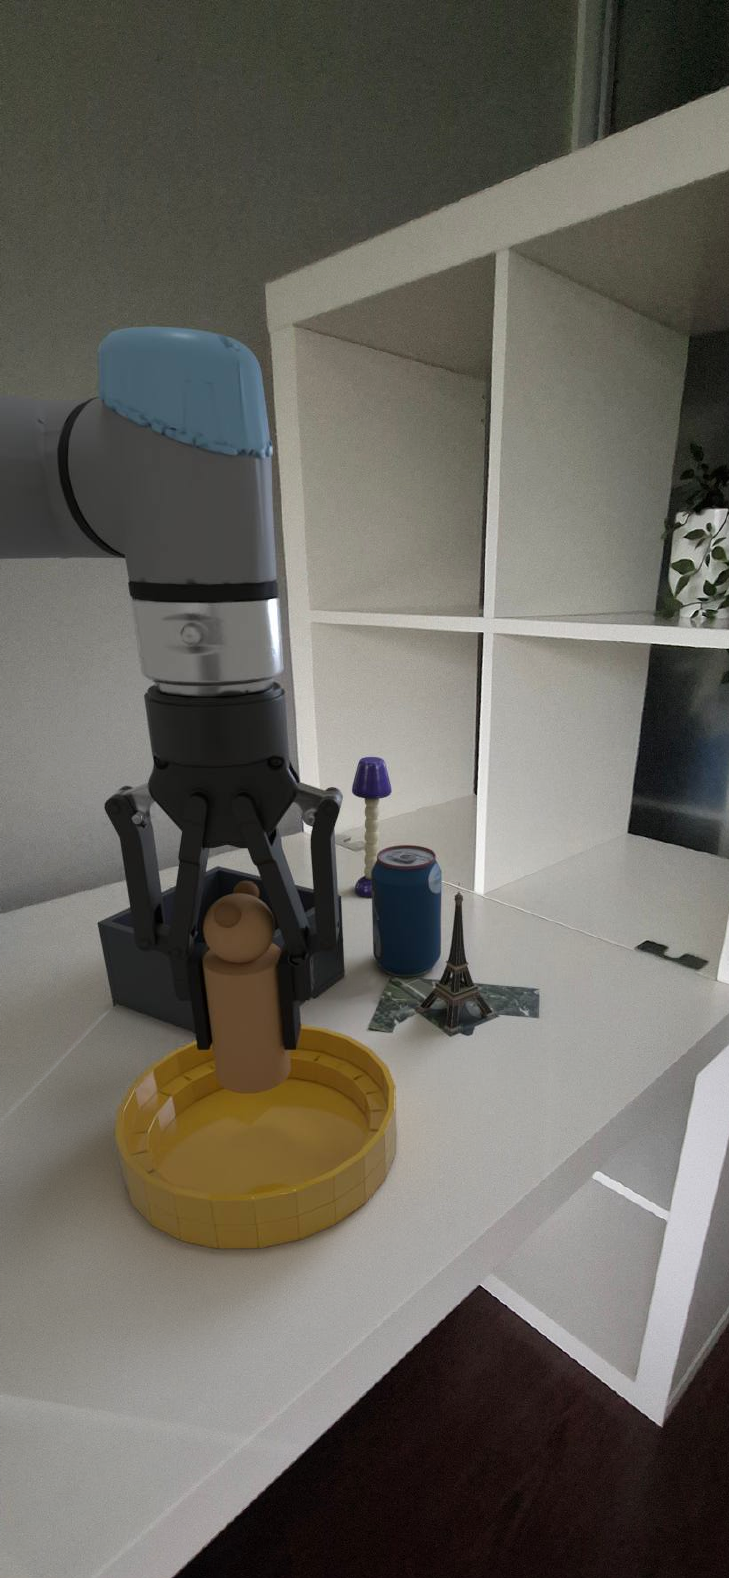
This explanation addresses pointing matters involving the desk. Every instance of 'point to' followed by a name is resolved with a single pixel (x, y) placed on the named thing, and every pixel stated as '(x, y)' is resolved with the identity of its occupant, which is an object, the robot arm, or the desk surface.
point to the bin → (149, 975)
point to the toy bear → (244, 992)
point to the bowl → (258, 1144)
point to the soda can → (406, 910)
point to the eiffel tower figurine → (452, 995)
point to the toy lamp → (370, 811)
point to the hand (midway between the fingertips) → (250, 1037)
